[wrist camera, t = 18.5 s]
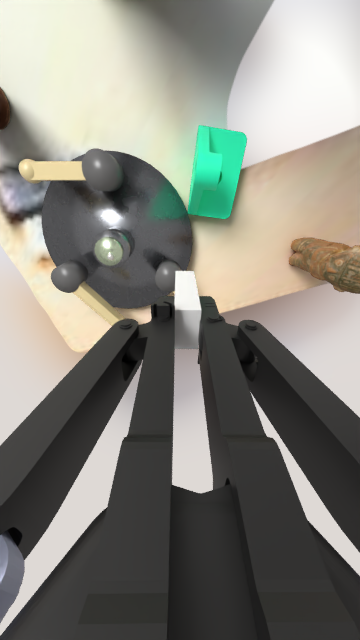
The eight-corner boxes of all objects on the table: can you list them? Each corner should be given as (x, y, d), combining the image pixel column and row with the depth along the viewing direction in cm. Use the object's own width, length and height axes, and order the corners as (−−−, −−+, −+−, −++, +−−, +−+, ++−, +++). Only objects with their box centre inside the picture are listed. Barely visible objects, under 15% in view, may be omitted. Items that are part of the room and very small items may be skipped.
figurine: (288, 238, 42) (337, 256, 29) (330, 230, 42) (399, 246, 29) (284, 278, 46) (326, 310, 33) (322, 272, 46) (380, 302, 33)
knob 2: (151, 270, 43) (149, 278, 39) (170, 254, 41) (169, 260, 37) (203, 326, 50) (205, 338, 45) (220, 314, 48) (225, 325, 44)
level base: (24, 153, 35) (-25, 139, 26) (193, 152, 35) (198, 139, 27) (69, 304, 49) (47, 327, 41) (189, 304, 49) (192, 326, 41)
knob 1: (57, 270, 43) (44, 279, 38) (72, 254, 41) (60, 261, 37) (122, 326, 50) (117, 339, 45) (137, 314, 48) (133, 326, 44)
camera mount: (226, 218, 40) (240, 224, 32) (187, 212, 40) (189, 217, 31) (243, 137, 34) (266, 117, 26) (197, 129, 34) (204, 106, 25)
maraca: (121, 154, 33) (113, 148, 29) (125, 191, 36) (118, 190, 32) (29, 154, 33) (7, 148, 29) (39, 191, 36) (21, 191, 31)
